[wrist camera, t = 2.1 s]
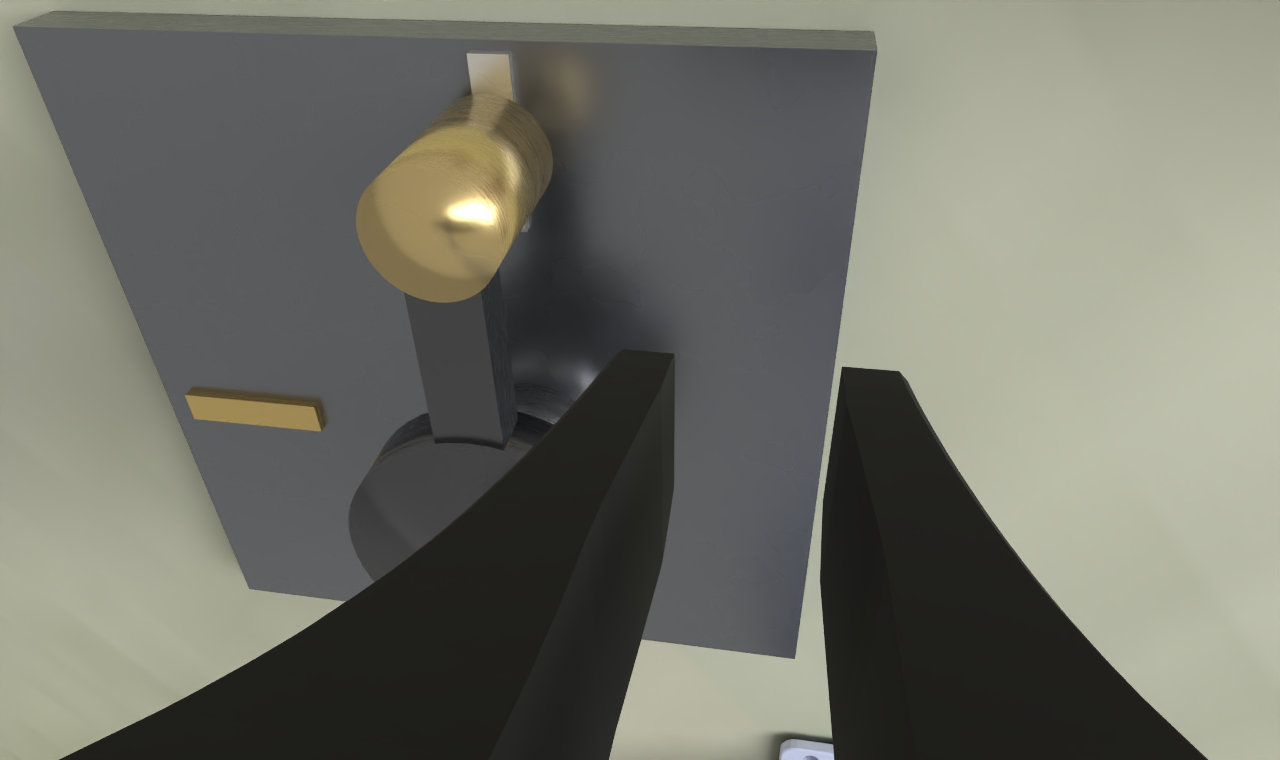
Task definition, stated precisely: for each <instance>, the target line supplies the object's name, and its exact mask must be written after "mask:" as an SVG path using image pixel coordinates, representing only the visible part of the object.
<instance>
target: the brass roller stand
mask: <svg viewBox="0 0 1280 760" xmlns="http://www.w3.org/2000/svg"><path fill="white" fill-rule="evenodd" d="M552 169H553V157H552V150H551V147H550V143H549V141H548V138H547V136H546V134H545V132H544V130H543V129H542V127H541V126H540V124H539V123H538V122H537V120H536V119H535V118H534V117H533V116H532V115H531V114H530V113H529V112H528V111H527V110H525V109H524V108H523V107H521V106H520V105H518V104H517V103H515V102H513V101H511V100H509V99H507V98H504V97H501V96H497V95H493V94H473V95H468V96H465V97H462V98H460V99H458V100H456V101H454V102H453V103H451V104H450V105H449V106H448V107H447V108H446V109H445V110H444V111H443V112H442V113H441V114H440V115H439V116H438V117H437V118H436V119H435V120H434V121H433V122H432V123H431V124H430V125H429V126H428V127H427V128H426V129H425V130H424V131H423V132H422V133H421V134H420V135H419V136H418V137H417V138H416V139H415V140H414V141H413V142H412V143H411V144H410V145H409V146H408V147H407V148H406V149H405V150H404V151H403V152H402V153H401V154H400V155H399V156H398V157H397V158H396V159H395V160H394V161H393V162H392V163H391V164H390V165H389V166H388V167H387V168H386V169H385V170H384V171H383V172H382V173H381V174H380V175H379V176H378V177H377V178H376V179H375V180H374V181H373V182H372V183H371V184H370V185H369V186H368V187H367V188H366V190H365V191H364V192H363V194H362V196H361V198H360V200H359V203H358V207H357V212H356V228H357V234H358V238H359V241H360V244H361V246H362V249H363V251H364V253H365V254H366V256H367V258H368V260H369V261H370V262H371V264H372V265H373V267H374V268H375V269H376V270H377V271H378V272H379V273H380V275H381V276H383V277H384V278H385V279H386V280H387V281H388V282H389V283H391V284H392V285H393V286H395V287H396V288H398V289H400V290H401V291H403V292H404V295H405V300H406V305H407V310H408V315H409V320H410V325H411V330H412V334H413V339H414V344H415V349H416V354H417V359H418V364H419V369H420V373H421V378H422V383H423V388H424V393H425V398H426V403H427V408H428V413H425V414H422V415H420V416H418V417H416V418H414V419H412V420H410V421H408V422H407V423H405V424H404V425H403V426H401V427H400V428H399V429H397V430H396V431H395V433H394V434H393V435H392V436H391V437H390V438H389V439H388V440H387V442H386V444H385V445H384V447H383V448H382V450H381V452H380V453H379V455H378V456H377V458H376V460H375V461H374V463H373V465H372V466H371V468H370V469H369V471H368V473H367V474H366V476H365V478H364V479H363V481H362V482H361V484H360V486H359V487H358V489H357V491H356V492H355V494H354V496H353V499H352V502H351V505H350V510H349V517H348V519H349V532H350V537H351V542H352V545H353V547H354V550H355V552H356V555H357V557H358V558H359V560H360V562H361V564H362V566H363V567H364V569H365V570H366V572H367V573H368V574H369V576H370V577H371V578H372V580H373V581H374V582H375V581H377V580H378V579H380V578H381V577H382V576H384V575H385V574H387V573H388V572H390V571H391V570H392V569H394V568H395V567H396V566H398V565H399V564H400V563H402V562H403V561H404V560H405V559H407V558H408V557H409V556H411V555H412V554H413V553H414V552H416V551H417V550H418V549H420V548H421V547H422V546H424V545H425V544H426V543H427V542H429V541H430V540H431V539H432V538H434V537H435V536H436V535H437V534H438V533H440V532H441V531H442V530H443V529H445V528H446V527H447V526H448V525H449V524H450V523H452V522H453V521H454V520H455V519H456V518H458V517H459V516H460V515H461V514H462V513H463V512H465V511H466V510H467V509H468V508H469V507H470V506H471V505H472V504H473V503H475V502H476V501H477V500H478V499H479V498H480V497H481V496H482V495H483V494H484V493H485V492H486V491H488V490H489V489H490V488H491V487H492V486H493V485H494V484H495V483H496V482H497V481H498V480H499V479H500V478H502V477H503V476H504V475H505V474H506V473H507V472H508V471H509V470H510V469H511V468H512V467H513V466H514V465H515V464H516V463H517V462H518V461H519V460H520V459H521V458H523V457H524V456H525V455H526V453H527V452H528V451H529V450H530V449H531V448H532V447H533V446H534V445H535V444H536V443H537V442H538V441H539V440H540V439H541V438H542V437H543V436H544V435H545V434H546V433H547V432H548V430H549V429H550V428H551V427H552V426H553V424H551V423H549V422H547V421H545V420H542V419H540V418H537V417H534V416H531V415H528V414H525V413H522V412H518V411H517V404H516V396H515V389H514V381H513V373H512V365H511V358H510V350H509V342H508V334H507V327H506V319H505V311H504V303H503V296H502V288H501V280H500V273H499V266H500V264H501V262H502V261H503V259H504V258H505V256H506V254H507V253H508V251H509V249H510V248H511V246H512V244H513V243H514V241H515V239H516V238H517V236H518V235H519V233H520V231H521V230H522V228H523V226H524V225H525V223H526V221H527V220H528V218H529V216H530V215H531V213H532V212H533V210H534V208H535V207H536V205H537V203H538V202H539V200H540V198H541V197H542V195H543V193H544V192H545V190H546V189H547V187H548V184H549V182H550V179H551V175H552Z"/></svg>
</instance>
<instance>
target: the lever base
mask: <svg viewBox="0 0 1280 760" xmlns="http://www.w3.org/2000/svg"><path fill="white" fill-rule="evenodd" d="M13 28H14V31H15V33H16V36H17V38H18V40H19V43H20V45H21V47H22V50H23V52H24V55H25V57H26V59H27V62H28V64H29V66H30V69H31V71H32V74H33V76H34V78H35V81H36V83H37V85H38V88H39V90H40V93H41V95H42V97H43V100H44V102H45V105H46V107H47V109H48V112H49V114H50V116H51V119H52V121H53V124H54V126H55V128H56V131H57V133H58V135H59V138H60V140H61V143H62V145H63V147H64V150H65V152H66V154H67V157H68V159H69V162H70V164H71V166H72V169H73V171H74V173H75V176H76V178H77V181H78V183H79V185H80V188H81V190H82V192H83V195H84V197H85V200H86V202H87V204H88V207H89V209H90V211H91V214H92V216H93V219H94V221H95V223H96V226H97V228H98V230H99V233H100V235H101V238H102V240H103V242H104V245H105V247H106V249H107V252H108V254H109V257H110V259H111V261H112V264H113V266H114V268H115V271H116V273H117V276H118V278H119V280H120V283H121V285H122V288H123V290H124V292H125V295H126V297H127V299H128V302H129V304H130V307H131V309H132V311H133V314H134V316H135V318H136V321H137V323H138V326H139V328H140V330H141V333H142V335H143V337H144V340H145V342H146V345H147V347H148V349H149V352H150V354H151V356H152V359H153V361H154V364H155V366H156V368H157V371H158V373H159V375H160V378H161V380H162V383H163V385H164V387H165V390H166V392H167V394H168V397H169V399H170V402H171V404H172V406H173V409H174V411H175V413H176V416H177V418H178V421H179V423H180V425H181V428H182V430H183V432H184V435H185V437H186V440H187V442H188V444H189V447H190V449H191V451H192V454H193V456H194V459H195V461H196V463H197V466H198V468H199V470H200V473H201V475H202V478H203V480H204V482H205V485H206V487H207V490H208V492H209V494H210V497H211V499H212V501H213V504H214V506H215V509H216V511H217V513H218V516H219V518H220V520H221V523H222V525H223V528H224V530H225V532H226V535H227V537H228V539H229V542H230V544H231V547H232V549H233V551H234V554H235V556H236V558H237V561H238V563H239V566H240V568H241V570H242V573H243V575H244V577H245V580H246V582H247V585H248V587H249V589H254V590H262V591H269V592H277V593H285V594H293V595H301V596H308V597H316V598H324V599H332V600H340V601H348V600H349V599H351V598H352V597H354V596H355V595H357V594H358V593H360V592H361V591H363V590H364V589H365V588H367V587H368V586H370V585H371V584H372V583H374V581H373V580H372V578H371V577H370V576H369V574H368V573H367V572H366V570H365V569H364V567H363V566H362V564H361V562H360V560H359V558H358V557H357V555H356V552H355V550H354V547H353V545H352V542H351V537H350V532H349V519H348V517H349V510H350V505H351V502H352V499H353V496H354V494H355V492H356V491H357V489H358V487H359V486H360V484H361V482H362V481H363V479H364V478H365V476H366V474H367V473H368V471H369V469H370V468H371V466H372V465H373V463H374V461H375V460H376V458H377V456H378V455H379V453H380V452H381V450H382V448H383V447H384V445H385V444H386V442H387V440H388V439H389V438H390V437H391V436H392V435H393V434H394V433H395V431H396V430H397V429H399V428H400V427H401V426H403V425H404V424H405V423H407V422H408V421H410V420H412V419H414V418H416V417H418V416H420V415H422V414H425V413H428V408H427V403H426V398H425V393H424V388H423V383H422V378H421V373H420V369H419V364H418V359H417V354H416V349H415V344H414V339H413V334H412V330H411V325H410V320H409V315H408V310H407V305H406V300H405V295H404V292H403V291H401V290H400V289H398V288H396V287H395V286H393V285H392V284H391V283H389V282H388V281H387V280H386V279H385V278H384V277H383V276H381V275H380V273H379V272H378V271H377V270H376V269H375V268H374V267H373V265H372V264H371V262H370V261H369V260H368V258H367V256H366V254H365V253H364V251H363V249H362V246H361V244H360V241H359V238H358V234H357V228H356V212H357V207H358V203H359V200H360V198H361V196H362V194H363V192H364V191H365V190H366V188H367V187H368V186H369V185H370V184H371V183H372V182H373V181H374V180H375V179H376V178H377V177H378V176H379V175H380V174H381V173H382V172H383V171H384V170H385V169H386V168H387V167H388V166H389V165H390V164H391V163H392V162H393V161H394V160H395V159H396V158H397V157H398V156H399V155H400V154H401V153H402V152H403V151H404V150H405V149H406V148H407V147H408V146H409V145H410V144H411V143H412V142H413V141H414V140H415V139H416V138H417V137H418V136H419V135H420V134H421V133H422V132H423V131H424V130H425V129H426V128H427V127H428V126H429V125H430V124H431V123H432V122H433V121H434V120H435V119H436V118H437V117H438V116H439V115H440V114H441V113H442V112H443V111H444V110H445V109H446V108H447V107H448V106H449V105H450V104H451V103H453V102H454V101H456V100H458V99H460V98H462V97H465V96H468V95H473V94H493V95H497V96H501V97H504V98H507V99H509V100H511V101H513V102H515V103H517V104H518V105H520V106H521V107H523V108H524V109H525V110H527V111H528V112H529V113H530V114H531V115H532V116H533V117H534V118H535V119H536V120H537V122H538V123H539V124H540V126H541V127H542V129H543V130H544V132H545V134H546V136H547V138H548V141H549V143H550V147H551V150H552V157H553V169H552V175H551V179H550V182H549V184H548V187H547V189H546V190H545V192H544V193H543V195H542V197H541V198H540V200H539V202H538V203H537V205H536V207H535V208H534V210H533V212H532V213H531V215H530V216H529V218H528V220H527V221H526V223H525V225H524V226H523V228H522V230H521V231H520V233H519V235H518V236H517V238H516V239H515V241H514V243H513V244H512V246H511V248H510V249H509V251H508V253H507V254H506V256H505V258H504V259H503V261H502V262H501V264H500V266H499V273H500V280H501V288H502V296H503V303H504V311H505V319H506V327H507V334H508V342H509V350H510V358H511V365H512V373H513V381H514V389H515V396H516V404H517V411H518V412H522V413H525V414H528V415H531V416H534V417H537V418H540V419H542V420H545V421H547V422H549V423H551V424H553V425H554V424H555V423H556V422H557V421H558V420H559V419H560V418H561V417H562V416H563V415H564V413H565V412H566V411H567V410H568V409H569V408H570V407H571V406H572V405H573V403H574V402H575V401H576V400H577V399H578V398H579V397H580V396H581V394H582V393H583V392H584V391H585V390H586V389H587V387H588V386H589V385H590V384H591V383H592V382H593V380H594V379H595V378H596V377H597V376H598V374H599V373H600V372H601V371H602V370H603V368H604V367H605V366H606V365H607V363H608V362H609V361H610V360H611V359H612V357H613V356H615V355H616V354H617V353H618V352H620V351H621V350H622V349H625V350H638V351H651V352H663V353H675V435H674V492H673V498H672V505H671V512H670V518H669V525H668V531H667V537H666V544H665V550H664V556H663V562H662V566H661V570H660V573H659V577H658V581H657V584H656V588H655V592H654V595H653V599H652V603H651V606H650V610H649V613H648V617H647V621H646V624H645V628H644V631H643V635H642V639H644V640H652V641H659V642H667V643H675V644H683V645H691V646H698V647H706V648H714V649H722V650H730V651H737V652H745V653H753V654H761V655H769V656H776V657H784V658H792V659H795V654H796V647H797V639H798V632H799V625H800V617H801V610H802V602H803V595H804V588H805V580H806V573H807V566H808V558H809V551H810V543H811V536H812V529H813V521H814V514H815V506H816V499H817V492H818V484H819V477H820V469H821V462H822V455H823V447H824V440H825V432H826V425H827V418H828V410H829V403H830V396H831V388H832V381H833V373H834V366H835V359H836V351H837V344H838V336H839V329H840V322H841V314H842V307H843V299H844V292H845V285H846V277H847V270H848V263H849V255H850V248H851V240H852V233H853V226H854V218H855V211H856V203H857V196H858V189H859V181H860V174H861V166H862V159H863V152H864V144H865V137H866V129H867V122H868V115H869V107H870V100H871V93H872V85H873V78H874V70H875V63H876V56H877V46H876V40H875V34H874V32H862V31H823V30H783V29H743V28H703V27H663V26H623V25H583V24H543V23H503V22H464V21H424V20H384V19H344V18H304V17H264V16H224V15H184V14H145V13H105V12H65V11H53V12H50V13H48V14H45V15H42V16H40V17H37V18H34V19H31V20H29V21H26V22H23V23H20V24H18V25H15V26H13Z"/></svg>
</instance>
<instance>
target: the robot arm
mask: <svg viewBox="0 0 1280 760" xmlns="http://www.w3.org/2000/svg"><path fill="white" fill-rule="evenodd" d="M674 435H675V353H663V352H651V351H638V350H625V349H622V350H621V351H620V352H618V353H617V354H616V355H615V356H613V357H612V359H611V360H610V361H609V362H608V363H607V365H606V366H605V367H604V368H603V370H602V371H601V372H600V373H599V374H598V376H597V377H596V378H595V379H594V380H593V382H592V383H591V384H590V385H589V386H588V387H587V389H586V390H585V391H584V392H583V393H582V394H581V396H580V397H579V398H578V399H577V400H576V401H575V402H574V403H573V405H572V406H571V407H570V408H569V409H568V410H567V411H566V412H565V413H564V415H563V416H562V417H561V418H560V419H559V420H558V421H557V422H556V423H555V424H554V425H553V426H552V427H551V428H550V429H549V430H548V432H547V433H546V434H545V435H544V436H543V437H542V438H541V439H540V440H539V441H538V442H537V443H536V444H535V445H534V446H533V447H532V448H531V449H530V450H529V451H528V452H527V453H526V455H525V456H524V457H523V458H521V459H520V460H519V461H518V462H517V463H516V464H515V465H514V466H513V467H512V468H511V469H510V470H509V471H508V472H507V473H506V474H505V475H504V476H503V477H502V478H500V479H499V480H498V481H497V482H496V483H495V484H494V485H493V486H492V487H491V488H490V489H489V490H488V491H486V492H485V493H484V494H483V495H482V496H481V497H480V498H479V499H478V500H477V501H476V502H475V503H473V504H472V505H471V506H470V507H469V508H468V509H467V510H466V511H465V512H463V513H462V514H461V515H460V516H459V517H458V518H456V519H455V520H454V521H453V522H452V523H450V524H449V525H448V526H447V527H446V528H445V529H443V530H442V531H441V532H440V533H438V534H437V535H436V536H435V537H434V538H432V539H431V540H430V541H429V542H427V543H426V544H425V545H424V546H422V547H421V548H420V549H418V550H417V551H416V552H414V553H413V554H412V555H411V556H409V557H408V558H407V559H405V560H404V561H403V562H402V563H400V564H399V565H398V566H396V567H395V568H394V569H392V570H391V571H390V572H388V573H387V574H385V575H384V576H382V577H381V578H380V579H378V580H377V581H375V582H374V583H372V584H371V585H370V586H368V587H367V588H365V589H364V590H363V591H361V592H360V593H358V594H357V595H355V596H354V597H352V598H351V599H349V600H348V601H346V602H345V603H343V604H342V605H340V606H339V607H337V608H336V609H334V610H333V611H331V612H330V613H328V614H327V615H325V616H324V617H322V618H321V619H319V620H318V621H316V622H315V623H313V624H312V625H310V626H309V627H307V628H306V629H304V630H303V631H301V632H299V633H298V634H296V635H294V636H293V637H291V638H289V639H288V640H286V641H284V642H283V643H281V644H279V645H278V646H276V647H274V648H273V649H271V650H269V651H267V652H266V653H264V654H262V655H261V656H259V657H257V658H256V659H254V660H252V661H251V662H249V663H247V664H245V665H244V666H242V667H240V668H238V669H236V670H234V671H233V672H231V673H229V674H227V675H225V676H224V677H222V678H220V679H218V680H216V681H215V682H213V683H211V684H209V685H207V686H206V687H204V688H202V689H200V690H198V691H197V692H195V693H193V694H191V695H189V696H187V697H185V698H183V699H181V700H179V701H178V702H176V703H174V704H172V705H170V706H168V707H166V708H164V709H162V710H160V711H158V712H156V713H154V714H152V715H150V716H148V717H146V718H144V719H142V720H140V721H138V722H136V723H134V724H132V725H129V726H127V727H125V728H123V729H121V730H119V731H117V732H115V733H113V734H111V735H109V736H107V737H105V738H103V739H101V740H99V741H97V742H95V743H92V744H90V745H88V746H86V747H84V748H82V749H80V750H78V751H76V752H74V753H72V754H70V755H68V756H66V757H64V758H62V759H60V760H609V757H610V752H611V748H612V744H613V740H614V735H615V731H616V728H617V724H618V721H619V717H620V713H621V710H622V706H623V703H624V699H625V696H626V692H627V688H628V685H629V681H630V678H631V674H632V671H633V667H634V663H635V660H636V656H637V653H638V649H639V646H640V642H641V639H642V635H643V631H644V628H645V624H646V621H647V617H648V613H649V610H650V606H651V603H652V599H653V595H654V592H655V588H656V584H657V581H658V577H659V573H660V570H661V566H662V562H663V556H664V550H665V544H666V537H667V531H668V525H669V518H670V512H671V505H672V498H673V492H674ZM820 585H821V599H822V612H823V625H824V638H825V651H826V663H827V676H828V688H829V701H830V713H831V725H832V738H833V744H827V743H820V742H813V741H805V740H798V739H790V740H786V741H785V742H783V743H782V744H781V747H780V755H779V760H1208V759H1207V758H1206V757H1205V756H1204V755H1203V754H1202V753H1200V752H1199V751H1198V750H1197V749H1196V748H1195V747H1194V746H1193V745H1192V744H1191V743H1190V742H1189V741H1188V740H1187V739H1186V738H1185V737H1184V736H1182V735H1181V734H1180V733H1179V732H1178V731H1177V730H1176V729H1175V728H1174V727H1173V726H1172V725H1171V724H1170V723H1169V722H1168V721H1167V720H1166V719H1164V718H1163V717H1162V716H1161V715H1160V714H1159V713H1158V712H1157V711H1156V710H1155V709H1154V708H1153V707H1152V706H1151V705H1150V704H1149V703H1148V702H1146V701H1145V700H1144V699H1143V698H1142V697H1141V696H1140V695H1139V694H1138V693H1137V691H1136V690H1135V689H1134V688H1133V687H1132V686H1131V685H1130V684H1129V683H1128V682H1127V681H1126V680H1125V679H1124V678H1123V677H1122V676H1121V675H1120V674H1119V673H1118V672H1117V671H1116V670H1115V669H1114V668H1113V667H1112V665H1111V664H1110V663H1109V662H1108V661H1107V660H1106V659H1105V658H1104V657H1103V656H1102V655H1101V654H1100V653H1099V651H1098V650H1097V649H1096V648H1095V647H1094V646H1093V645H1092V644H1091V643H1090V641H1089V640H1088V639H1087V638H1086V637H1085V636H1084V635H1083V634H1082V632H1081V631H1080V630H1079V629H1078V628H1077V627H1076V626H1075V625H1074V624H1073V622H1072V621H1071V620H1070V619H1069V618H1068V617H1067V616H1066V614H1065V613H1064V612H1063V611H1062V610H1061V608H1060V607H1059V606H1058V605H1057V604H1056V603H1055V601H1054V600H1053V599H1052V598H1051V597H1050V595H1049V594H1048V593H1047V592H1046V590H1045V589H1044V588H1043V587H1042V585H1041V584H1040V583H1039V582H1038V581H1037V579H1036V578H1035V577H1034V576H1033V574H1032V573H1031V572H1030V570H1029V569H1028V568H1027V566H1026V565H1025V564H1024V563H1023V561H1022V560H1021V559H1020V557H1019V556H1018V555H1017V553H1016V552H1015V551H1014V549H1013V548H1012V547H1011V546H1010V544H1009V543H1008V542H1007V540H1006V539H1005V538H1004V536H1003V535H1002V533H1001V532H1000V531H999V529H998V528H997V527H996V525H995V524H994V522H993V521H992V520H991V518H990V517H989V515H988V514H987V512H986V511H985V510H984V508H983V507H982V505H981V504H980V502H979V501H978V499H977V498H976V496H975V495H974V493H973V492H972V490H971V489H970V487H969V486H968V484H967V483H966V481H965V480H964V478H963V477H962V475H961V474H960V472H959V471H958V469H957V468H956V466H955V464H954V463H953V461H952V460H951V458H950V456H949V455H948V453H947V452H946V450H945V448H944V447H943V445H942V443H941V442H940V440H939V438H938V436H937V435H936V433H935V431H934V430H933V428H932V426H931V425H930V423H929V421H928V419H927V417H926V416H925V414H924V412H923V410H922V408H921V407H920V405H919V403H918V401H917V399H916V397H915V395H914V393H913V391H912V389H911V387H910V385H909V383H908V381H907V380H906V379H905V378H904V376H903V375H902V374H901V373H900V372H899V371H889V370H876V369H864V368H851V367H842V371H841V378H840V385H839V392H838V399H837V406H836V413H835V420H834V427H833V434H832V441H831V449H830V456H829V463H828V470H827V477H826V484H825V491H824V498H823V513H822V540H821V570H820Z"/></svg>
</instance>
